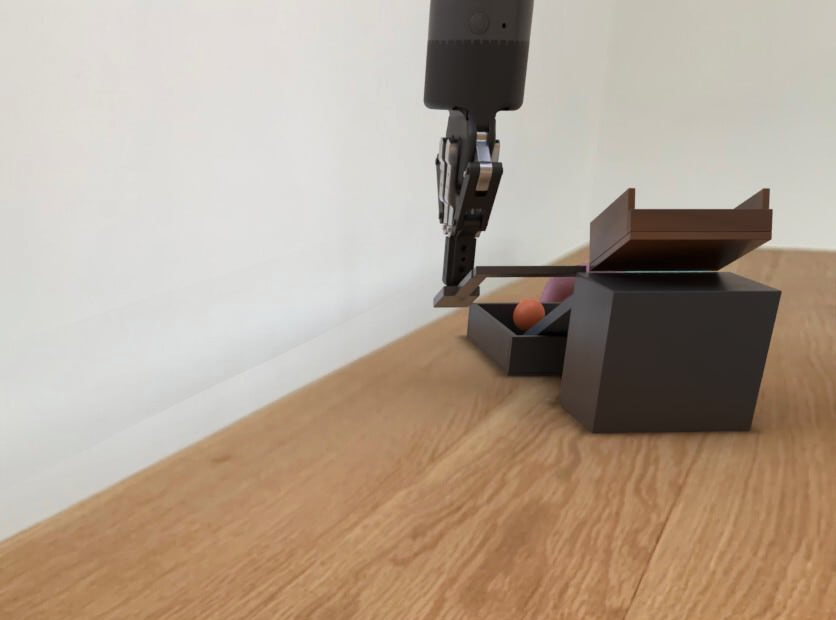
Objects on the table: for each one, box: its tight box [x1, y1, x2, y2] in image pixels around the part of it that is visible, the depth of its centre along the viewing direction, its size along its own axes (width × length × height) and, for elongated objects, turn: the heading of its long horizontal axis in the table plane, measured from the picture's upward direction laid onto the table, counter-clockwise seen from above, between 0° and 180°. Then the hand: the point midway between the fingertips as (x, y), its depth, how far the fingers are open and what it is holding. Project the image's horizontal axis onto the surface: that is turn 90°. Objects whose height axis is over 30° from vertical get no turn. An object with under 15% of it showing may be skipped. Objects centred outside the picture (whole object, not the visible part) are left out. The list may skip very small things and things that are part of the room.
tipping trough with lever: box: [432, 187, 774, 309], centre depth 84 cm, size 19×20×4 cm
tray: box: [466, 301, 568, 377], centre depth 103 cm, size 16×15×4 cm
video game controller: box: [538, 262, 590, 302], centre depth 117 cm, size 10×5×7 cm, turn 65°
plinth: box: [558, 271, 783, 435], centre depth 82 cm, size 8×12×10 cm
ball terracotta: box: [513, 298, 545, 332], centre depth 107 cm, size 3×3×3 cm
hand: (456, 286), depth 91 cm, fingers closed
